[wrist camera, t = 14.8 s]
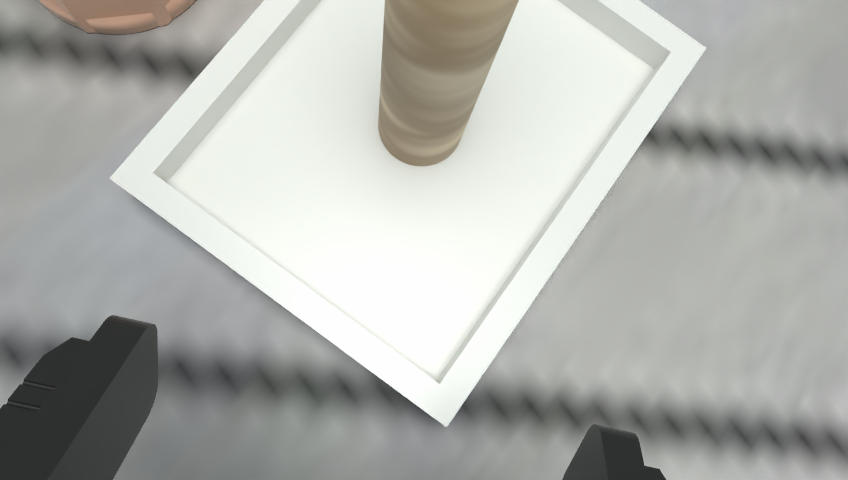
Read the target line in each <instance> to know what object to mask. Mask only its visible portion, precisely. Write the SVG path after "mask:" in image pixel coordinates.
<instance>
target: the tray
mask: <svg viewBox="0 0 848 480" xmlns="http://www.w3.org/2000/svg"><path fill="white" fill-rule="evenodd" d="M384 7H385V0H264V1H263V2H262V4H261V5H260V6H259V7H258V8H257V9H256V10H255V12H254V13H253V14H252V15H251V16H250V17H249V18H248V20H247V21H246V22H245V23H244V24H243V25H242V27H241V28H240V29H239V30H238V31H237V32H236V33H235V35H234V36H233V37H232V38H231V39H230V40H229V41H228V43H227V44H226V45H225V46H224V47H223V48H222V50H221V51H220V52H219V53H218V54H217V55H216V56H215V58H214V59H213V60H212V61H211V62H210V63H209V64H208V66H207V67H206V68H205V69H204V70H203V71H202V72H201V74H200V75H199V76H198V77H197V78H196V79H195V81H194V82H193V83H192V84H191V85H190V86H189V87H188V89H187V90H186V91H185V92H184V93H183V94H182V95H181V97H180V98H179V99H178V100H177V101H176V102H175V104H174V105H173V106H172V107H171V108H170V109H169V110H168V112H167V113H166V114H165V115H164V116H163V117H162V118H161V120H160V121H159V122H158V123H157V124H156V125H155V126H154V128H153V129H152V130H151V131H150V132H149V133H148V135H147V136H146V137H145V138H144V139H143V140H142V141H141V143H140V144H139V145H138V146H137V147H136V148H135V149H134V151H133V152H132V153H131V154H130V155H129V156H128V157H127V159H126V160H125V161H124V162H123V163H122V164H121V166H120V167H119V168H118V169H117V170H116V171H115V172H114V174H113V175H112V176H111V177H110V179H111V180H112V181H114V182H115V183H116V184H118V185H119V186H121V187H122V188H123V189H125V190H126V191H127V192H129V193H130V194H131V195H133V196H134V197H135V198H137V199H138V200H139V201H141V202H142V203H144V204H145V205H146V206H148V207H149V208H150V209H152V210H153V211H154V212H156V213H157V214H158V215H160V216H161V217H162V218H164V219H165V220H167V221H168V222H169V223H171V224H172V225H173V226H175V227H176V228H177V229H179V230H180V231H181V232H183V233H184V234H185V235H187V236H188V237H190V238H191V239H192V240H194V241H195V242H196V243H198V244H199V245H200V246H202V247H203V248H204V249H206V250H207V251H209V252H210V253H211V254H213V255H214V256H215V257H217V258H218V259H219V260H221V261H222V262H223V263H225V264H226V265H227V266H229V267H230V268H232V269H233V270H234V271H236V272H237V273H238V274H240V275H241V276H242V277H244V278H245V279H246V280H248V281H249V282H250V283H252V284H253V285H255V286H256V287H257V288H259V289H260V290H261V291H263V292H264V293H265V294H267V295H268V296H269V297H271V298H272V299H273V300H275V301H276V302H278V303H279V304H280V305H282V306H283V307H284V308H286V309H287V310H288V311H290V312H291V313H292V314H294V315H295V316H296V317H298V318H299V319H301V320H302V321H303V322H305V323H306V324H307V325H309V326H310V327H311V328H313V329H314V330H315V331H317V332H318V333H319V334H321V335H322V336H324V337H325V338H326V339H328V340H329V341H330V342H332V343H333V344H334V345H336V346H337V347H338V348H340V349H341V350H342V351H344V352H345V353H347V354H348V355H349V356H351V357H352V358H353V359H355V360H356V361H357V362H359V363H360V364H361V365H363V366H364V367H365V368H367V369H368V370H370V371H371V372H372V373H374V374H375V375H376V376H378V377H379V378H380V379H382V380H383V381H384V382H386V383H387V384H389V385H390V386H391V387H393V388H394V389H395V390H397V391H398V392H399V393H401V394H402V395H403V396H405V397H406V398H407V399H409V400H410V401H412V402H413V403H414V404H416V405H417V406H418V407H420V408H421V409H422V410H424V411H425V412H426V413H428V414H429V415H430V416H432V417H433V418H435V419H436V420H437V421H439V422H440V423H441V424H443V425H444V426H445V427H447V426H448V425H449V423H450V422H451V420H452V419H453V417H454V416H455V414H456V413H457V412H458V410H459V409H460V407H461V406H462V404H463V403H464V401H465V400H466V398H467V397H468V395H469V394H470V393H471V391H472V390H473V388H474V387H475V385H476V384H477V382H478V381H479V379H480V378H481V376H482V375H483V374H484V372H485V371H486V369H487V368H488V366H489V365H490V363H491V362H492V360H493V359H494V357H495V356H496V355H497V353H498V352H499V350H500V349H501V347H502V346H503V344H504V343H505V341H506V340H507V339H508V337H509V336H510V334H511V333H512V331H513V330H514V328H515V327H516V325H517V324H518V322H519V321H520V320H521V318H522V317H523V315H524V314H525V312H526V311H527V309H528V308H529V306H530V305H531V303H532V302H533V301H534V299H535V298H536V296H537V295H538V293H539V292H540V290H541V289H542V287H543V286H544V284H545V283H546V282H547V280H548V279H549V277H550V276H551V274H552V273H553V271H554V270H555V268H556V267H557V265H558V264H559V263H560V261H561V260H562V258H563V257H564V255H565V254H566V252H567V251H568V249H569V248H570V246H571V245H572V244H573V242H574V241H575V239H576V238H577V236H578V235H579V233H580V232H581V230H582V229H583V227H584V226H585V225H586V223H587V222H588V220H589V219H590V217H591V216H592V214H593V213H594V211H595V210H596V208H597V207H598V206H599V204H600V203H601V201H602V200H603V198H604V197H605V195H606V194H607V192H608V191H609V189H610V188H611V187H612V185H613V184H614V182H615V181H616V179H617V178H618V176H619V175H620V173H621V172H622V170H623V169H624V168H625V166H626V165H627V163H628V162H629V160H630V159H631V157H632V156H633V154H634V153H635V151H636V150H637V149H638V147H639V146H640V144H641V143H642V141H643V140H644V138H645V137H646V135H647V134H648V132H649V131H650V130H651V128H652V127H653V125H654V124H655V122H656V121H657V119H658V118H659V116H660V115H661V113H662V112H663V111H664V109H665V108H666V106H667V105H668V103H669V102H670V100H671V99H672V97H673V96H674V94H675V93H676V92H677V90H678V89H679V87H680V86H681V84H682V83H683V81H684V80H685V78H686V77H687V75H688V74H689V73H690V71H691V70H692V68H693V67H694V65H695V64H696V62H697V61H698V59H699V58H700V57H701V55H702V54H703V52H704V51H705V49H706V47H704V46H703V45H701V44H700V43H698V42H697V41H696V40H694V39H693V38H691V37H690V36H689V35H687V34H686V33H684V32H683V31H682V30H680V29H679V28H677V27H676V26H674V25H673V24H672V23H670V22H669V21H667V20H666V19H665V18H663V17H662V16H660V15H659V14H657V13H656V12H655V11H653V10H652V9H650V8H649V7H648V6H646V5H645V4H643V3H642V2H641V1H639V0H519V1H518V4H517V6H516V9H515V11H514V13H513V16H512V18H511V20H510V23H509V25H508V28H507V30H506V32H505V35H504V37H503V40H502V42H501V44H500V47H499V49H498V51H497V54H496V56H495V59H494V61H493V63H492V66H491V68H490V71H489V73H488V75H487V78H486V80H485V82H484V85H483V87H482V90H481V92H480V94H479V97H478V99H477V102H476V104H475V106H474V109H473V111H472V113H471V116H470V118H469V121H468V123H467V125H466V128H465V130H464V133H463V135H462V137H461V140H460V142H459V144H458V146H457V148H456V149H455V151H454V152H453V153H452V154H451V155H450V156H449V157H448V158H446V159H445V160H443V161H441V162H439V163H437V164H434V165H429V166H414V165H409V164H406V163H404V162H402V161H400V160H398V159H397V158H395V157H394V156H393V155H391V154H390V152H389V151H388V150H387V149H386V148H385V146H384V144H383V143H382V141H381V138H380V135H379V130H378V118H379V99H380V81H381V62H382V44H383V25H384Z"/></svg>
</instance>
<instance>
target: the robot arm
mask: <svg viewBox="0 0 848 480" xmlns="http://www.w3.org/2000/svg"><path fill="white" fill-rule="evenodd" d="M157 386H158V352H157V328H156V325H154V324H150V323H146V322H141V321H137V320H133V319H128V318H124V317H119V316H115V315H112V316H110V317H108V318H107V319H106V320H105V321H104V322H103V324H102V325H101V327H100V328H99V329H98V331H97V332H96V333H95V335H94V336H93V337H92V339H91V340H90V341H86V340H81V339H77V338H70V339H69V340H67V341H66V342H64V343H62V344H61V345H59V346H58V347H56V348H55V349H53V350H51V351H50V352H48V353H47V354H45V355H43V357H42V358H41V359H40V360H39V362H38V363H37V364H36V365H35V366H34V368H33V369H32V370H31V371H30V373H29V374H28V375H27V376H26V378H25V379H24V382H23V384H22V385H21V384H20V385H19V386H18V388H17V389H16V390H15V391H14V393H13V394H12V395H11V396H10V398H9V399H8V402H7V404H6V405H3V406H2V407H1V409H0V480H113V478H114V476H115V474H116V473H117V471H118V469H119V467H120V465H121V464H122V462H123V460H124V458H125V457H126V455H127V453H128V451H129V449H130V448H131V446H132V444H133V442H134V440H135V439H136V437H137V435H138V433H139V432H140V430H141V428H142V426H143V424H144V423H145V421H146V419H147V417H148V415H149V413H150V411H151V408H152V406H153V403H154V400H155V396H156V392H157ZM563 480H666V479H665V477H664V476H663V474H662V473H661V471H660V469H657V468H652V467H647V466H644V462H643V457H642V452H641V448H640V443H639V440H638V437H637V436H636V434H634V433H631V432H627V431H622V430H618V429H613V428H609V427H604V426H600V425H596V424H594V425H592V426H591V427H590V428H589V430H588V431H587V433H586V435H585V437H584V439H583V441H582V443H581V444H580V446H579V448H578V450H577V452H576V454H575V456H574V457H573V459H572V461H571V463H570V465H569V467H568V469H567V470H566V472H565V474H564V477H563Z"/></svg>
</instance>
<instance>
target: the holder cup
mask: <svg viewBox="0 0 848 480" xmlns="http://www.w3.org/2000/svg"><path fill="white" fill-rule="evenodd" d="M195 1H196V0H39V2H40V3H41V4H42V5H43V6H44V7H45V8H46V9H48V10H49V11H50V12H51V13H52V14H54V15H55V16H57V17H58V18H60V19H61V20H63V21H64V22H67V23H69V24H71V25H73V26H75V27H78V28H81V29H83V30H84V31H85V32H87V33H101V34H114V35H116V34H131V33H137V32H143V31H146V30H150V29H153V28H156V27H158V26H164V25H168V24H169V23H170V22H171V20H172V19H174V18H176V17H178V16H179V15H180V14H182V13H183V12H184V11H186V10H187V9H188V8H189V7H190V6H191V5H192V4H193V3H194V2H195Z"/></svg>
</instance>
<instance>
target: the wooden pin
mask: <svg viewBox="0 0 848 480" xmlns="http://www.w3.org/2000/svg"><path fill="white" fill-rule="evenodd" d="M518 1H519V0H385V7H384V25H383V44H382V62H381V81H380V99H379V118H378V130H379V135H380V138H381V141H382V143H383V144H384V146H385V148H386V149H387V150H388V151H389V152H390V154H391V155H393V156H394V157H395V158H397V159H398V160H400V161H402V162H404V163H406V164H409V165H414V166H429V165H434V164H437V163H439V162H441V161H443V160H445V159H446V158H448V157H449V156H450V155H451V154H452V153H453V152H454V151H455V149H456V148H457V146H458V144H459V142H460V140H461V137H462V135H463V133H464V130H465V128H466V125H467V123H468V121H469V118H470V116H471V113H472V111H473V109H474V106H475V104H476V102H477V99H478V97H479V94H480V92H481V90H482V87H483V85H484V82H485V80H486V78H487V75H488V73H489V71H490V68H491V66H492V63H493V61H494V59H495V56H496V54H497V51H498V49H499V47H500V44H501V42H502V40H503V37H504V35H505V32H506V30H507V28H508V25H509V23H510V20H511V18H512V16H513V13H514V11H515V9H516V6H517V4H518Z"/></svg>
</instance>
